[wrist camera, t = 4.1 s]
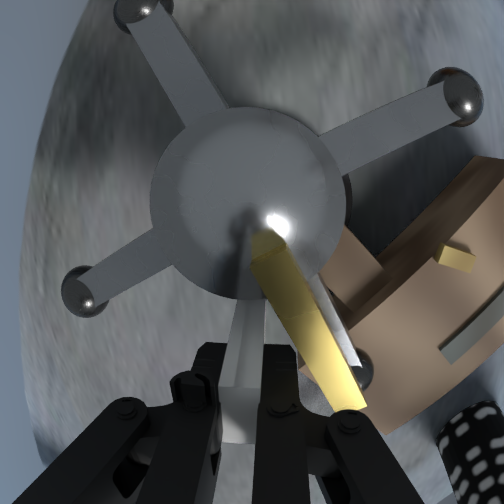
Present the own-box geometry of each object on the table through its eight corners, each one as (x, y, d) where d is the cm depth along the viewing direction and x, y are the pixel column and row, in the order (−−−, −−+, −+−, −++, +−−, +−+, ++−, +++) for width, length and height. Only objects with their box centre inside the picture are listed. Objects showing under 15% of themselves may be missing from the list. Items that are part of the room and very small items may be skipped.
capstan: (62, 129, 20) (-60, 138, 9) (326, -29, 15) (353, -138, 4) (208, 368, 25) (170, 485, 14) (465, 248, 20) (565, 324, 9)
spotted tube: (424, 438, 26) (468, 595, 7) (485, 389, 24) (562, 540, 5) (452, 457, 27) (492, 584, 9) (506, 415, 25) (566, 537, 6)
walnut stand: (374, 393, 25) (387, 441, 19) (234, 271, 22) (219, 311, 17) (527, 252, 19) (567, 277, 14) (423, 86, 17) (464, 72, 12)
